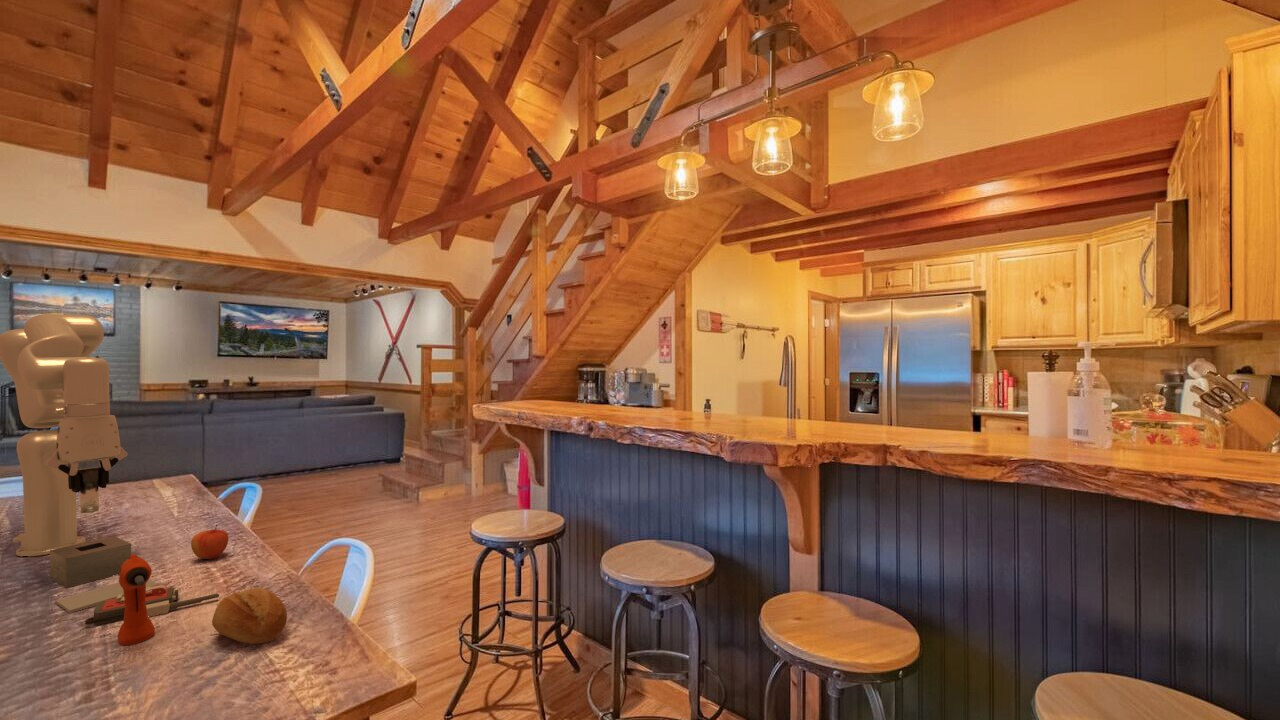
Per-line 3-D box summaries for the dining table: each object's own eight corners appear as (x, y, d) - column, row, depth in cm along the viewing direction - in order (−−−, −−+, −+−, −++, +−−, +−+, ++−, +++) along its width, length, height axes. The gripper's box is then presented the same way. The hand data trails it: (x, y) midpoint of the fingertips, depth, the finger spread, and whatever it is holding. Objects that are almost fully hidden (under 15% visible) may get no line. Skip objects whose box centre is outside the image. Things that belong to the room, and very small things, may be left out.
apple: (184, 561, 135) (184, 529, 135) (217, 551, 142) (216, 520, 142) (203, 565, 132) (202, 532, 132) (235, 555, 139) (234, 523, 139)
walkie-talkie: (82, 635, 101) (219, 603, 113) (81, 611, 101) (218, 582, 113) (91, 617, 108) (219, 589, 120) (90, 594, 108) (219, 569, 120)
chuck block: (50, 578, 126) (49, 550, 126) (114, 562, 135) (113, 536, 135) (66, 588, 120) (65, 558, 120) (131, 570, 130) (131, 543, 130)
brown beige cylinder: (73, 513, 126) (72, 470, 126) (89, 509, 130) (88, 467, 129) (90, 513, 126) (89, 470, 126) (105, 508, 130) (104, 466, 129)
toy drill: (123, 665, 87) (120, 569, 88) (116, 638, 100) (113, 555, 101) (163, 652, 91) (160, 560, 92) (152, 628, 104) (149, 548, 105)
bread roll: (243, 659, 91) (242, 612, 91) (197, 639, 98) (196, 594, 98) (301, 633, 100) (300, 589, 100) (255, 615, 107) (254, 575, 107)
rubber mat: (55, 603, 113) (55, 600, 113) (142, 578, 125) (142, 576, 125) (69, 613, 108) (69, 610, 108) (159, 586, 120) (159, 584, 120)
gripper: (40, 416, 118) (42, 500, 119) (140, 408, 133) (141, 483, 133) (30, 414, 122) (32, 495, 122) (128, 407, 136) (129, 480, 137)
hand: (89, 488), depth 128 cm, fingers closed on brown beige cylinder, 3 cm apart
